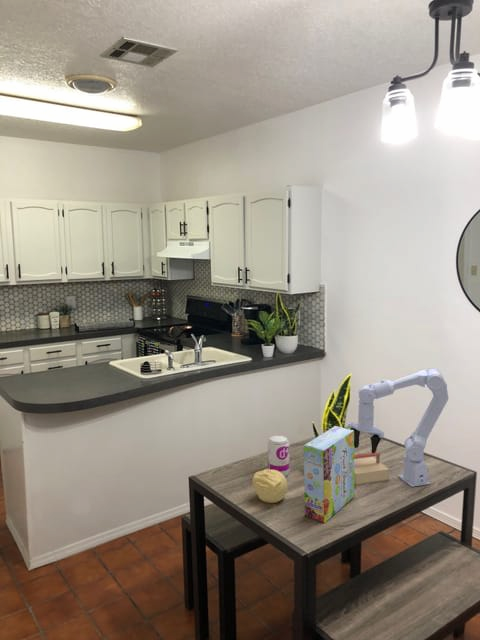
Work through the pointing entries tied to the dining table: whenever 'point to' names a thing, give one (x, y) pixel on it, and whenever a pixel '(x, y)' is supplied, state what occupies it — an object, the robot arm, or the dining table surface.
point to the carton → (370, 473)
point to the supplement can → (278, 454)
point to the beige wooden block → (366, 459)
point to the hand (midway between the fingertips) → (365, 449)
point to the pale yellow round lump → (270, 485)
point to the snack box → (328, 473)
